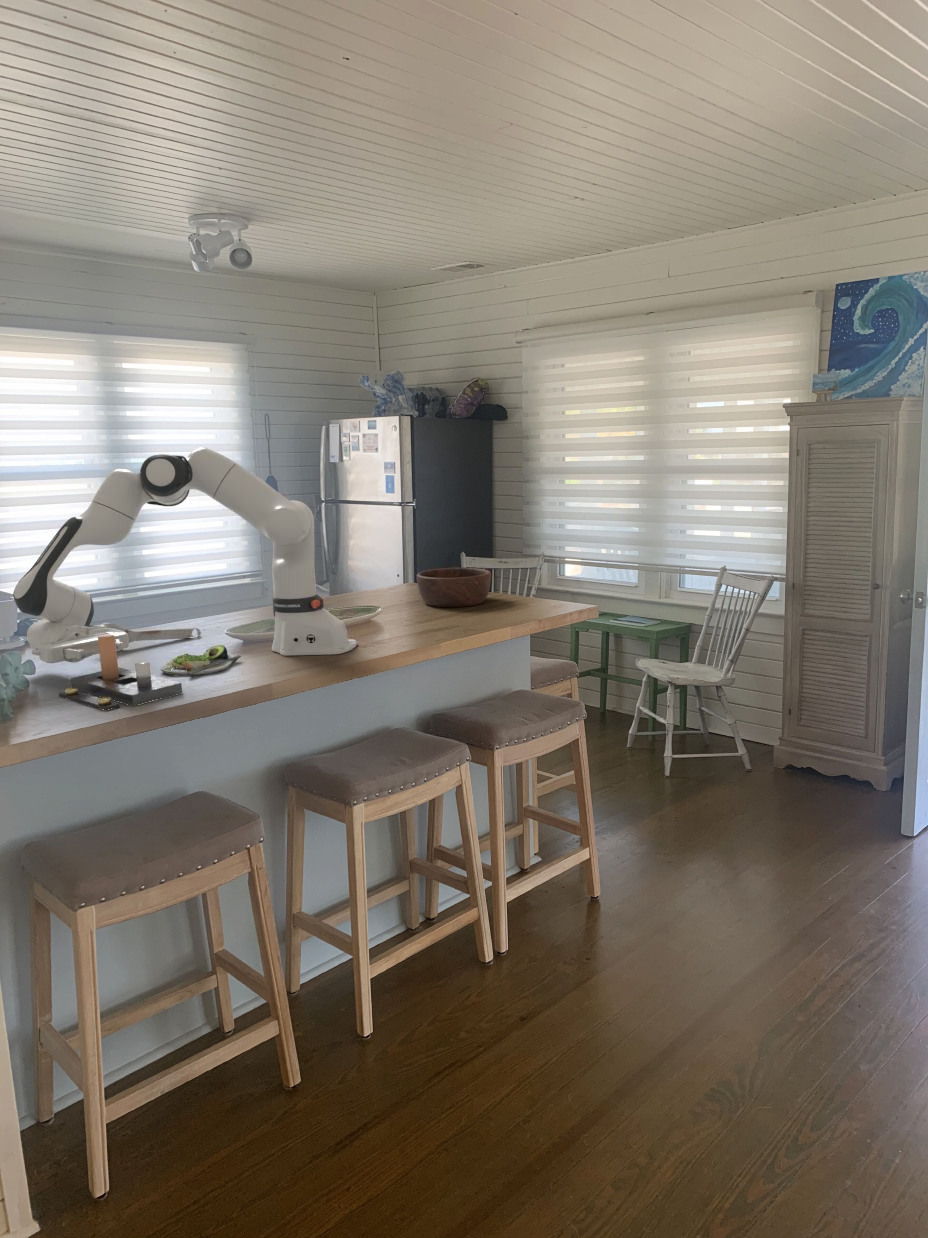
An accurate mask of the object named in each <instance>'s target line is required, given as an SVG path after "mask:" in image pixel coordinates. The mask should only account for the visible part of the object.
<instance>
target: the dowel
mask: <svg viewBox="0 0 928 1238" xmlns="http://www.w3.org/2000/svg"><path fill="white" fill-rule="evenodd" d="M98 644H99V653H100V654H99V660H100V661H99V662H100V671H102V680H106V681H107V680H111V679H116V678H119V671H118V667H119V664H118V663H119V662H118V655H117V654H118V653H117V652H118V651H116V643H115V635H102V636H99V637H98Z"/></svg>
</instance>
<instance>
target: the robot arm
mask: <svg viewBox="0 0 928 1238" xmlns="http://www.w3.org/2000/svg"><path fill="white" fill-rule="evenodd" d="M190 490H194V491H195V490H196V491H199V492H201V493H204V494H205V495H207V496H208V497H210V498H211V499H213V500H214V501H216V502H217V503H219V504H221V505H222V506H223V507H225V508H227V509H228V510H230V511H231V512H233V513H235V514H236V515H237V516H240V517H241V518H242V519H243V520H245V521H246V522H247V523H248V524H249V525H251V526H252V527H253V528H255V529H256V530H257V531H258V532H260V533H261V534H262V535H264V537H266V538H268V539H269V540H270V541H272V564H271V570H272V571H271V572H272V587H273V597H272V611H273V617H274V631H273V641H272V646H271V651H273V652H275V653H278V654H279V655H282V656H310V655H311V656H314V655H315V656H317V655H319V656H321V655H323V656H324V655H339V654H344V653H346V652H347V653H348V652H349V651H351V650H353V649H355V648H356V646H358V645H357V640H355V639H352V638H351V639H350V638H349V635H348V631H347V626H346V625H345V622H343V621H342V620H341V619H339V618H338V617H337V616H335V615H333V614H332V613H331V612H330V611H328V610H327V609H325V608H324V607H325V606H324V602H326V596H324V597H321V596H320V595H318V594H317V588H316V585H317V584H316V571H315V569H316V568H315V553H316V552H315V545H316V544H315V517H314V514H313V512H312V510H311V508H310V507H309V506H308V505H307V504H306V503H305V502H302V501H299V500H294V499H293V500H292V499H291V500H289V499H288V498H286V497H285V496H284V495H282V494H281V493H280V492H278V491H277V490H276V489H274V488H273V487H272V486H270V485H269V484H268V483H267V482H266V481H264V480H263V479H261V478H260V477H259V476H257V475H256V474H254V473H253V472H251V471H250V470H248V469H246V468H245V467H243V466H241V465H240V464H239V463H237V462H235V461H234V460H232V459H230V458H228V457H227V456H225V455H223V454H221V453H219V452H218V451H214V450H212V449H210V448H208V447H198V448H196V449H194V450H193V451H191V452H190V453H189V454H188V455H187V457H185V456H183V455H178V454H168V453H167V454H166V453H157V454H153V455H151V456H149V457H147V458H145V460H144V461H143V463H142V465H141V466H140V469H139V472H134V471H132V470H129V469H124V468H117V469H114V470H112V471H111V472H110V473H109V474H108V475H107V477H106V478H105V479H104V481H103V482H102V484H101V485H100V486H99V488H98V490H97V491H96V492H95V495H94V497H93V499H92V501H91V503H90V505H89V507H87V508H86V509H85V511H84V512H82V513H81V514H80V515H78V516H72V517H70V518H69V519H68V520H67V521H66V522H64V523H63V524H62V526H61V527H60V528H59V529H58V531H57V532H56V533H55V535H54V536H53V537H52V539H51V540H50V542H49V543H48V544H47V546H46V547H45V548H44V550H42V552H41V554H40V555H39V557H38V558H37V559H36V561H35V563H34V564H33V565H32V566H31V568H30V569H28V571H27V572H26V573H25V574H24V575H23V576H22V578H21V579H20V580H19V581H18V583H17V584H16V585H15V588H14V590H13V595H12V596H13V600H14V603H15V604H16V607H17V609H18V610H19V611H20V613H22V614H26V615H31V616H34V617H39V618H41V619H40V620H38V621H37V622H34V623H32V624H31V625H30V626H29V627H28V629H27V632H26V640H27V642H28V645H29V646H30V648H31V649H32V651H31V654H32V655H34V656H38V657H39V659H40V660H41V661H42V662H43V663H47V664H55V663H56V664H57V663H60V662H61V663H62V662H68V663H74V664H75V663H80V662H81V661H83V660H84V659H87V658H89V657H91V656H94V655H100V653H99V644H98V637H99V636H102V635H115V643H116V650H117V651H116V652H118V651H119V650H122V651H123V650H124V649H127V648H129V646H130V643H129V637H128V634H127V633H126V632H124V631H120V630H116V629H111V628H106V626H105V625H101V624H95V625H94V624H93V625H92V624H91V622H92V621H93V618H94V614H95V607H94V601H93V598H92V596H91V595H90V593H88V592H85V591H83V590H81V589H79V588H76V587H75V586H71V585H68V584H67V583H66V584H65V583H64V582H61V581H59V580H56V579H54V575H55V574H56V573H57V571H58V569H59V568H60V567H61V565H62V564H63V563H64V561H65V560H66V558H67V557H68V555H69V554H70V553H71V551H72V550H74V549H75V548H77V547H81V546H88V545H90V546H112V545H115V544H117V543H120V542H122V541H123V540H125V539H126V538H127V537H128V535H129V534H130V533H131V530H132V528H133V526H134V524H135V522H136V520H137V517H138V515H139V513H140V511H141V510H142V508H143V507H144V505H145V504H147V505H152V506H153V505H154V506H160V507H161V506H162V507H176V506H178V505H180V504H182V503H183V502H184V501H185V500H186V499H187V498H188V495H190V494H189V493H190ZM119 652H120V651H119Z"/></svg>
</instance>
